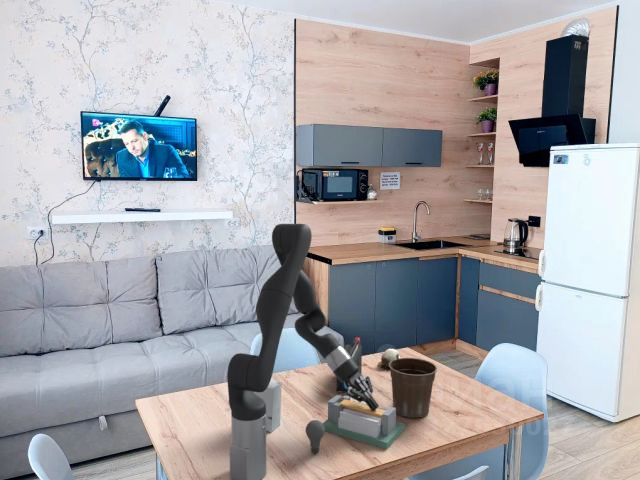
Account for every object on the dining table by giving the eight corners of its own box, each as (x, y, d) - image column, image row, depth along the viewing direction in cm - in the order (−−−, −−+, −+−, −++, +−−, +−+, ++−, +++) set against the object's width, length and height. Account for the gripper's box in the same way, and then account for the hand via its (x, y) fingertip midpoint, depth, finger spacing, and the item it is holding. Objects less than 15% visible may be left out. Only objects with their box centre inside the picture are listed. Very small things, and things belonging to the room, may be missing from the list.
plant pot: (437, 403, 189) (438, 360, 187) (434, 424, 173) (435, 377, 171) (391, 398, 193) (392, 355, 191) (384, 418, 178) (385, 371, 176)
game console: (351, 398, 193) (351, 359, 191) (334, 396, 195) (334, 358, 193) (362, 370, 220) (363, 336, 218) (347, 368, 222) (348, 334, 220)
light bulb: (319, 446, 159) (319, 415, 158) (328, 455, 154) (328, 422, 153) (302, 451, 156) (302, 419, 155) (311, 460, 152) (311, 427, 150)
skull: (387, 356, 234) (401, 343, 228) (400, 376, 229) (415, 363, 224) (369, 362, 226) (383, 348, 220) (383, 383, 221) (397, 369, 215)
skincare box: (250, 427, 171) (249, 383, 169) (259, 419, 176) (259, 376, 174) (273, 433, 167) (272, 388, 165) (282, 425, 173) (282, 381, 171)
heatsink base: (387, 449, 158) (387, 422, 157) (321, 430, 169) (321, 404, 168) (404, 429, 170) (405, 404, 169) (342, 413, 181) (342, 389, 180)
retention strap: (339, 405, 171) (339, 403, 171) (344, 401, 174) (344, 399, 174) (382, 417, 163) (382, 415, 163) (386, 413, 167) (387, 410, 166)
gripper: (338, 363, 164) (375, 410, 159) (358, 351, 175) (392, 394, 170) (324, 377, 167) (358, 423, 162) (343, 363, 178) (377, 406, 174)
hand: (376, 408), depth 166 cm, fingers closed
